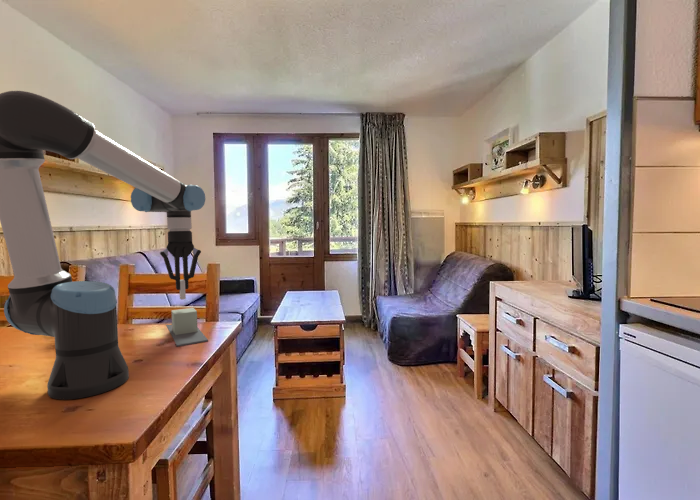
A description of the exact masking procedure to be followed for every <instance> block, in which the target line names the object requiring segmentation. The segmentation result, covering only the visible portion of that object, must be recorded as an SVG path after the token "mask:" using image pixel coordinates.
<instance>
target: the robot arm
mask: <svg viewBox="0 0 700 500" xmlns="http://www.w3.org/2000/svg"><path fill="white" fill-rule="evenodd" d="M44 151H47V152H52V153H55V154H58V155H61V156H62V157H65V158H66V159H69V160H75V159H79V160H80V161H81V162H84V163H86V164H88V165H90V166H91V167H92V166H93V167H94V168H97V169H98V170H101V171H102V172H104V173H106V174H108V175H110V176H112V177H114V178H116V179H118V180H120V181H122V182H123V183H126V184H128V185H130V186H132V187H134V188H133V190H132V191H131V193H130V194H131V195H130V204H131V205H132V208H133V209H135V210H136V211H137V212H145V213H166V223H167V226H166V227H167V231H168V230H169V231H168V232H167V245H166V248H165V249H164V250H161V251H160V252H159V255H160V256H161V257H162V258H163V261H164V264H165V267H166V270H167V274H168V277H169V279H170V280H174V281H175V290H177V291H179V299H180V300H186V299H187V297H186V296H187V295H186V290H188V289H189V287H190V285H189V280H190V279H192V278H195V273H196V270H197V269H196V267H197V263H198V260H199V256H200V255H201V253H202V251H201V250H200V249H198V248H196V247H195V245H194V244H193V232H192V231H191V230H192V228H193V226H192V211H198V210H201V209H202V208H204V206H205V203H206V194H205V193H206V192H205V191H204V189H203V188H201V186H199V185H196V184H186V183H183V182H182V181H180V180H178V179H177V178H175V177H173V176H172V175H171V174H168V173H167V172H165V171H163V170H161V168H159V167H158V166H155V165H153V164H152V163H150V162H149V161H147V160H145V159H144V158H142V157H141V156H139V155H137V154H136V153H134V152H132V151H131V150H129V149H127V148H126V147H124V146H122V145H120V144H119V143H117V142H115V140H113V139H111V138H109V137H108V136H106V135H104V134H103V133H101V132H99V131H98V130H96V127H95V125H94V123H93V122H92V121H90V120H88V119H86V118H85V117H84V116H82V115H80V114H79V113H77V112H75V111H73V110H72V109H69V108H68V107H66V106H64V105H62V104H61V103H58V102H56V101H54V100H52V99H49V98H47V97H45V96H42V95H40V94H37V93H34V92H30V91H25V90H24V91H23V90H9V91H4V92H1V93H0V227H1V230H2V234H3V236H4V240H5V244H6V245H5V246H6V249H7V253H8V256H9V260H10V265H11V267H12V271H13V272H12V273H13V275H14V276H13V278H12V280H10V282H9V283H8V284H7V289H8V292H9V296H8V298H7V299H6V300H5V303H4V307H3V313H4V317H5V318H6V319H5V320H6V321H7V322H8V323H9V324H10V325H11V326H12V327H13V328H14V329H16V330H17V331H20V332H23V333H26V334H30V335H34V336H45V337H51V338H52V337H53V338H54V347H55V360H54V363H53V366H52V369H51V372H50V375H49V378H48V381H47V386H46V387H47V396H48V397H49V398H50V399H51V398H52V399H54V400H76V399H82V398H83V399H84V398H88V397H93V396H95V395H100V394H103V393H107V392H109V391H111V390H114V389H116V388H118V387H120V386H122V385H124V384H125V383H126V382H127V381H128V380H129V378H130V374H129V373H130V371H129V366H128V365H127V361H126V360H125V358H124V356H123V353H122V351H121V349H120V346H119V333H118V314H117V312H118V311H117V309H118V308H117V307H118V306H117V304H118V300H117V296H116V291H115V288H114V286H112V285H111V284H109V283H107V282H102V281H93V280H92V281H88V280H82V281H81V280H80V281H79V280H76V281H73V278H72V275H71V273H69V272H67V271H66V270H64V269H63V268H62V266H61V262H60V261H61V260H60V257H59V253H58V249H57V244H56V240H55V235H54V230H53V227H52V222H51V217H50V213H49V210H48V205H47V201H46V197H45V191H44V187H43V182H42V180H41V173H40V171H39V169H40V167H41V166H42V165H43V164H44V163H45V162H46V160H45V159H46V158H45V154H44ZM169 253H170V255H171V256H172V257H173V258H174V273H173V269H172V265H171V263H170V259H169V257H168V256H169ZM191 253H192V254H193V256H192V260H191V265H190V268H189V264H188V263H189V262H188V261H189V256H190V255H191ZM180 258H182V259H181V260H182V269H183V270H182V271H183V273H182V274H183V275H182V277H183V279H181V268H180V267H181V265H180V261H181V260H180Z"/></svg>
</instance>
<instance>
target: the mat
mask: <svg viewBox="0 0 700 500" xmlns="http://www.w3.org/2000/svg"><path fill="white" fill-rule="evenodd" d="M165 326H166V328H167V329H168V332H169V334H170V336H171V337H172V339H173V341H174V343H175V345H176V347H177V348H178V347H182V346H183V347H184V346H188V345H189V346H190V345H194V344H200V343H201V344H202V343H205V342H209V338H207V337H206V335H205V334H204V333H203V332H202V331H201V329H200V328H199V327H198V332H192V333H185V334H179V335H175V334H174V332H173V331H172V325H166V324H165Z"/></svg>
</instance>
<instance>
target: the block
mask: <svg viewBox="0 0 700 500" xmlns="http://www.w3.org/2000/svg"><path fill="white" fill-rule="evenodd" d="M170 313H171V324H172V331H173V332H174V334H175V335H179V334H185V333H192V332H198V328H199V327H198V312H197V310H196V309H195V308H194V307H187V308H179V309H173V310H172V309H171V312H170Z"/></svg>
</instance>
